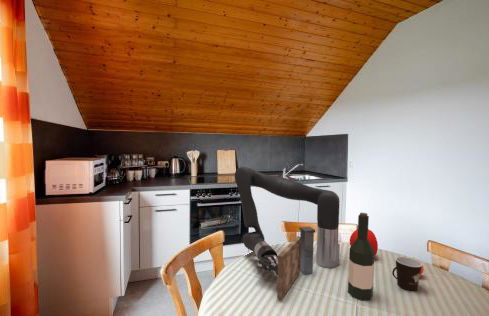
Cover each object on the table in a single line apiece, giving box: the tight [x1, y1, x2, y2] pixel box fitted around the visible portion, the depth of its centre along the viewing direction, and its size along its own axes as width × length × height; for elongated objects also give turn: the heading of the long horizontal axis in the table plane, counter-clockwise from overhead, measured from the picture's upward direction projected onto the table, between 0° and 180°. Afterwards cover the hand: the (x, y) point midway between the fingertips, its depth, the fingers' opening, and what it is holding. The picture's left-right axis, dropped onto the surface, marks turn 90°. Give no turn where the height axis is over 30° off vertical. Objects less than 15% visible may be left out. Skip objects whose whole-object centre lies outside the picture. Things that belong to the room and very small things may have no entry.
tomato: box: [349, 228, 379, 256], centre depth 123 cm, size 13×11×14 cm
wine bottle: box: [347, 212, 376, 302], centre depth 91 cm, size 8×8×30 cm
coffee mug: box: [391, 256, 423, 292], centre depth 97 cm, size 12×9×10 cm
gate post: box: [298, 226, 316, 276], centre depth 107 cm, size 5×5×19 cm
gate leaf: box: [276, 235, 301, 300], centre depth 96 cm, size 22×2×15 cm, turn 151°
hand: (281, 273), depth 91 cm, fingers closed
